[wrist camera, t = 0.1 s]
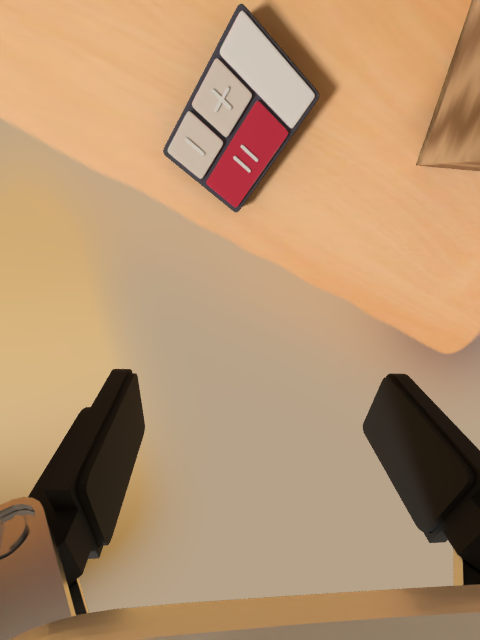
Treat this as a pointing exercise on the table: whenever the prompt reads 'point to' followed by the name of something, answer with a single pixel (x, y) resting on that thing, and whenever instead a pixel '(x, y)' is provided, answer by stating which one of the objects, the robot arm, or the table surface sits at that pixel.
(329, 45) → the table surface
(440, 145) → the carton
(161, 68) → the table surface
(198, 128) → the calculator
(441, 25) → the table surface
